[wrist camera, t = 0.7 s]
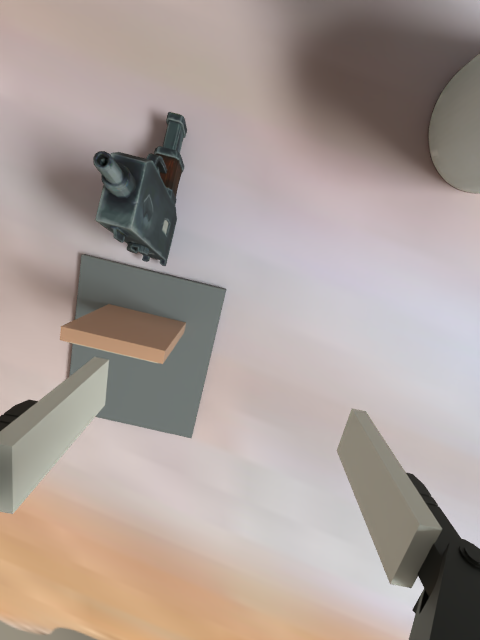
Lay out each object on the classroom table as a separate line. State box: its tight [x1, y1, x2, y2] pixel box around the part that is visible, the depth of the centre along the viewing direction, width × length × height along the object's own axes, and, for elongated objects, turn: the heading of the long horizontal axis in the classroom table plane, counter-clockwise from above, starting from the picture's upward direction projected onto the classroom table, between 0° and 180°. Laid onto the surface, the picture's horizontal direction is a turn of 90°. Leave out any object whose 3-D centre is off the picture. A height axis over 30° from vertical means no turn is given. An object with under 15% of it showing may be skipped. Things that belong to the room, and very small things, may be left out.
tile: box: [60, 304, 186, 364], centre depth 33 cm, size 2×10×10 cm, turn 76°
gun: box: [94, 112, 187, 266], centre depth 27 cm, size 3×17×15 cm
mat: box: [69, 254, 226, 438], centre depth 40 cm, size 22×18×1 cm
